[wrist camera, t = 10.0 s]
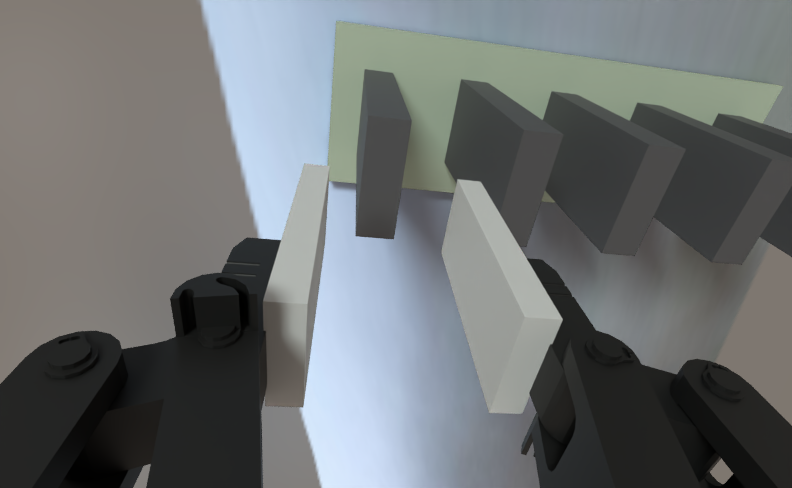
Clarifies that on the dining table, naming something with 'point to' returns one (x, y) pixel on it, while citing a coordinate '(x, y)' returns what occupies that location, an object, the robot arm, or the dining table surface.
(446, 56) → the strip
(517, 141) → the domino
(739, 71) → the dining table surface
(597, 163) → the domino
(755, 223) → the domino
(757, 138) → the domino
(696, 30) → the dining table surface
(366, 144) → the domino
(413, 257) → the dining table surface
